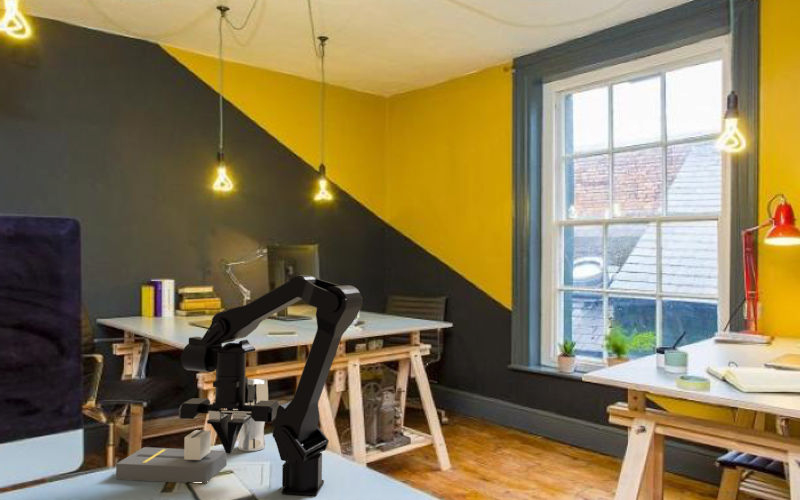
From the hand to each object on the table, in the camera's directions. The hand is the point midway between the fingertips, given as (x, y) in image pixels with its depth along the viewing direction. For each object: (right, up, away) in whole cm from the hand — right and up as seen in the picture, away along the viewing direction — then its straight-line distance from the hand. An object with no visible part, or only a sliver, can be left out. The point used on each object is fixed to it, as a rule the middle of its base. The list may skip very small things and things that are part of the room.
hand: (229, 453), depth 115 cm
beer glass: (0, -5, +17) cm, 18 cm away
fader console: (-12, -4, +1) cm, 12 cm away
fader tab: (-7, -1, +1) cm, 7 cm away
